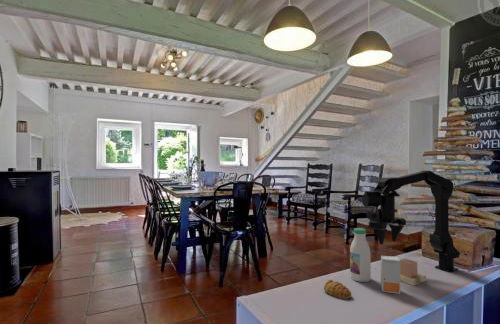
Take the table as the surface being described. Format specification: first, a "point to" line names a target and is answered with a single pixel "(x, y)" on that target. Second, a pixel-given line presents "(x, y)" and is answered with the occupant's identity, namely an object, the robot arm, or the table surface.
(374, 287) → the table surface
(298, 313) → the table surface
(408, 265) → the cube
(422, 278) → the plinth
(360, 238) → the milk bottle
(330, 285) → the pastry
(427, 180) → the robot arm
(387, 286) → the skincare box
